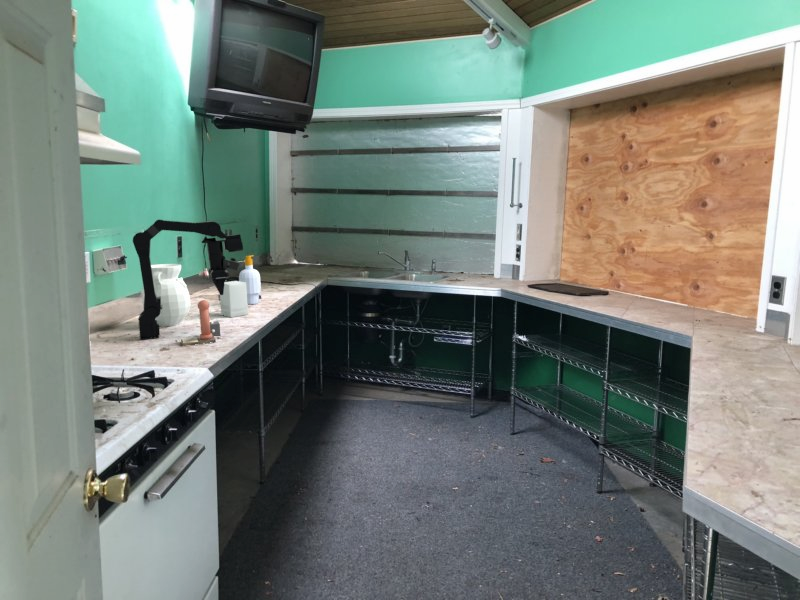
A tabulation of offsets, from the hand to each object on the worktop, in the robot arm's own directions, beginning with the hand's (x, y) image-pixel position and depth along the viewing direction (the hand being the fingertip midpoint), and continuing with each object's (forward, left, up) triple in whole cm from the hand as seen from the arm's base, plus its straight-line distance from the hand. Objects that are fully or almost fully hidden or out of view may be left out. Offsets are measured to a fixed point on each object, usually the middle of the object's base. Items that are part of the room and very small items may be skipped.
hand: (220, 293), depth 213 cm
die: (-5, -7, -15) cm, 18 cm away
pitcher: (-19, +24, -15) cm, 34 cm away
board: (-11, -15, -15) cm, 24 cm away
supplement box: (+9, +30, -15) cm, 34 cm away
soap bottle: (+21, +55, -15) cm, 60 cm away
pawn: (-8, -15, -14) cm, 22 cm away
